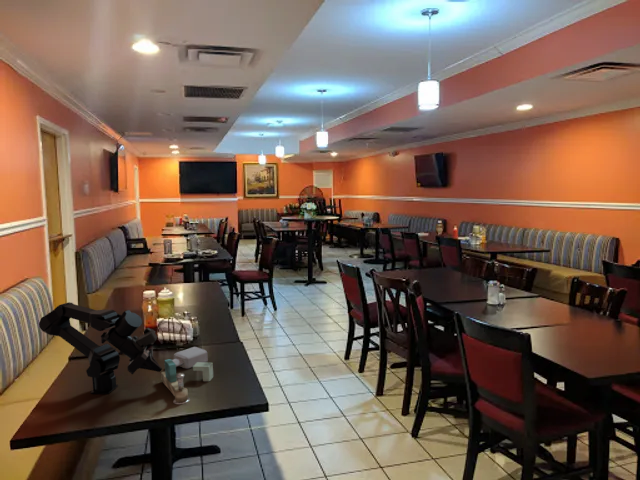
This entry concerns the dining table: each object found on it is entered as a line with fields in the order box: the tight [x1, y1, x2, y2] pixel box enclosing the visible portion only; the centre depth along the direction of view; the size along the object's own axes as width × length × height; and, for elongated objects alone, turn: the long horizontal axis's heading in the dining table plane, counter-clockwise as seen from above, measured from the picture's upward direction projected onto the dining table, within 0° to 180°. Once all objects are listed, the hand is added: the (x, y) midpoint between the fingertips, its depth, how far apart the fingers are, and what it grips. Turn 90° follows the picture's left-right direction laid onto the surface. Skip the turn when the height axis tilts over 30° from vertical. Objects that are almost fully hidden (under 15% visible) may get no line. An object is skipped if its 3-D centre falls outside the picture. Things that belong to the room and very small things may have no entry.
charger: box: [171, 346, 209, 369], centre depth 181 cm, size 5×9×15 cm
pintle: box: [172, 372, 191, 405], centre depth 151 cm, size 5×5×9 cm
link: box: [160, 358, 189, 402], centre depth 158 cm, size 21×4×9 cm, turn 34°
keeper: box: [192, 361, 214, 382], centre depth 168 cm, size 6×4×5 cm
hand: (161, 370), depth 159 cm, fingers closed
